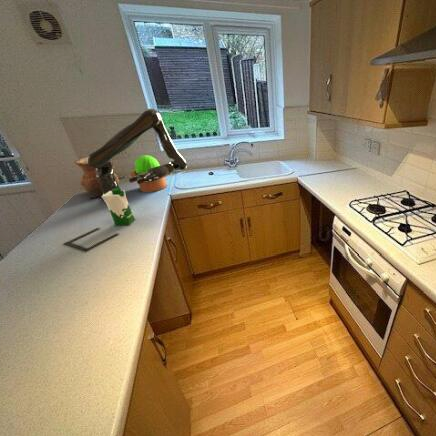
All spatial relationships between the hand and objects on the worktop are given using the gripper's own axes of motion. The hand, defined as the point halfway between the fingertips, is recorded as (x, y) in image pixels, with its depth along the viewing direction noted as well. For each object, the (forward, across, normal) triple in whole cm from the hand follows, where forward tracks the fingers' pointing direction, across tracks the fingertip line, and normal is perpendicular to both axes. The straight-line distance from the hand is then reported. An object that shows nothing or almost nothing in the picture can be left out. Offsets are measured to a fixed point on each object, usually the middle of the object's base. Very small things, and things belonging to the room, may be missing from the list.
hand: (133, 181), depth 134 cm
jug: (-13, -59, +20) cm, 64 cm away
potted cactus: (-32, -31, +20) cm, 49 cm away
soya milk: (+13, 0, +20) cm, 24 cm away
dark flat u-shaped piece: (+30, 0, +20) cm, 36 cm away
